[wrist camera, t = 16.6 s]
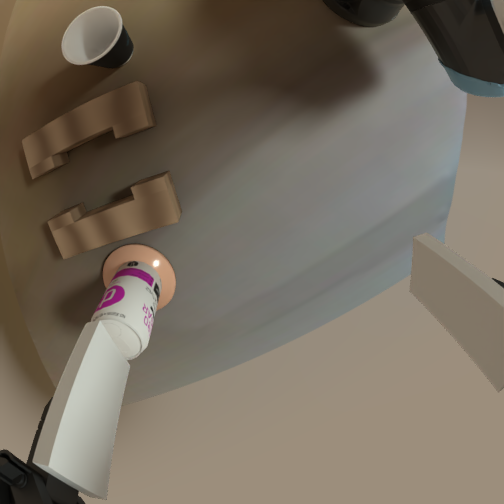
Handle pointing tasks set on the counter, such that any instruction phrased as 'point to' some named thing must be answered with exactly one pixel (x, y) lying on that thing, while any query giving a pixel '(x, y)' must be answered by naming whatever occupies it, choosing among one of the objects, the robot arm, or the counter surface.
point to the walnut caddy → (121, 211)
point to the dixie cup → (97, 39)
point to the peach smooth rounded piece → (149, 257)
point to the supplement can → (130, 307)
